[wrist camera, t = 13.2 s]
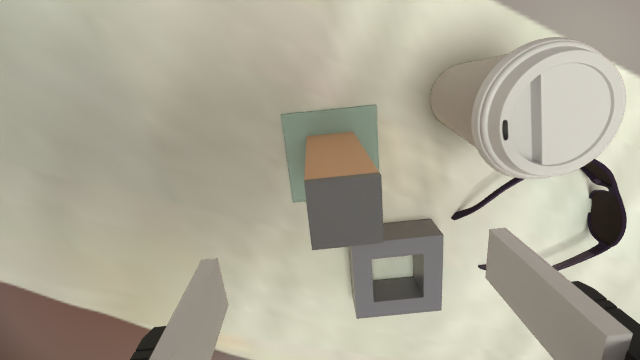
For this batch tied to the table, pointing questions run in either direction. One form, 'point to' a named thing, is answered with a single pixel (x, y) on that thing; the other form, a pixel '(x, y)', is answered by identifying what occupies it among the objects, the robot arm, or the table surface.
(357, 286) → the grey square frame
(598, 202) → the sunglasses
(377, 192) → the plug
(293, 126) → the pad
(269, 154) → the table surface
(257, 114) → the table surface
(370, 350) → the table surface
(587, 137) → the coffee cup
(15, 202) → the table surface
